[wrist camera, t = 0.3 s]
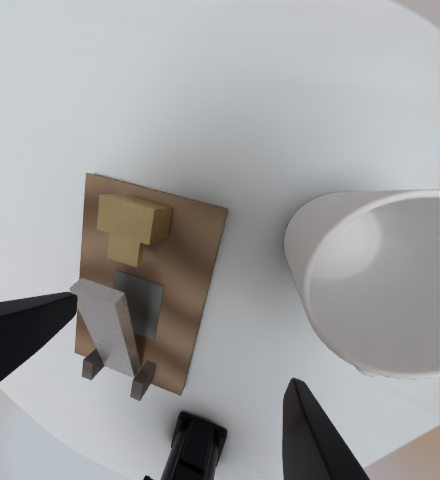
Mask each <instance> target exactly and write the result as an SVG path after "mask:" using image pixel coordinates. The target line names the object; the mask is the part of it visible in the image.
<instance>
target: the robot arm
mask: <svg viewBox="0 0 440 480" xmlns="http://www.w3.org/2000/svg"><path fill="white" fill-rule="evenodd" d="M77 302H78V297H77V295H76V294H73V293H70V292H62V293H56V294H50V295H43V296H37V297H30V298H24V299H17V300H11V301H5V302H0V382H1V381H2V380H3V379H4V378H5V377H7V376H8V375H9V374H10V373H12V372H13V371H14V370H15V369H16V368H18V367H19V366H20V365H21V364H23V363H24V362H25V361H26V360H28V359H29V358H30V357H31V356H32V355H34V354H35V353H36V352H37V351H38V350H40V349H41V348H42V347H43V346H44V345H45V344H46V343H47V342H48V341H49V340H50V339H51V338H52V337H54V336H55V335H56V334H57V333H58V332H59V331H60V330H61V329H62V328H63V327H64V326H65V325H66V324H67V323H68V322H69V321H70V320H71V319H72V318H73V317H74V316H75V314H76V312H77ZM226 438H227V431H226V430H225V429H222V428H220V427H217V426H215V425H213V424H210V423H208V422H206V421H203V420H201V419H198V418H196V417H194V416H191V415H189V414H186V413H184V412H180V414H179V416H178V420H177V424H176V428H175V432H174V436H173V440H172V444H171V448H172V449H171V452H170V455H169V458H168V460H167V463H166V466H165V469H164V471H163V474H162V477H161V480H214V474H215V469H216V467H217V464H218V461H219V458H220V455H221V452H222V449H223V446H224V444H225V441H226ZM282 457H283V474H284V480H370V479H369V478H368V476H367V474H366V473H365V471H364V470H363V468H362V467H361V465H360V464H359V462H358V461H357V459H356V458H355V456H354V455H353V453H352V452H351V450H350V449H349V447H348V446H347V445H346V443H345V442H344V440H343V439H342V437H341V436H340V434H339V433H338V431H337V430H336V428H335V427H334V425H333V424H332V422H331V421H330V419H329V418H328V416H327V415H326V413H325V412H324V410H323V409H322V407H321V406H320V404H319V403H318V401H317V400H316V398H315V397H314V395H313V394H312V392H311V391H310V389H309V388H308V386H307V385H306V384H305V382H303V381H301V380H299V379H296V378H292V379H291V380H290V383H289V385H288V387H287V390H286V392H285V394H284V399H283V438H282ZM143 480H153V479H151V478H150V477H149V476H147V475H146V476H145V477H144V479H143Z"/></svg>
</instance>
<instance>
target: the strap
mask: <svg viewBox="0 0 440 480" xmlns="http://www.w3.org/2000/svg"><path fill="white" fill-rule="evenodd" d="M69 289H70V291H71V293H73V294H76V295H77V297H78V302H77V306H78V309H79V311H80V313H81V315H82V317H83V320H84V322H85V324H86V326H87V329H88V331H89V333H90V335H91V337H92V340H93V342H94V344H95V346H96V348H97V351H98V353H99V355H100V357H101V359H102V362H103V364H104V366H106V367H109V368H111V369H114V370H116V371H119V372H121V373H123V374H126V375H128V376H131V377H133V378H135V377H136V375H137V373H138V371H139V369H140V368H141V367H140V362H139V357H138V353H137V348H136V343H135V339H134V334H133V329H132V325H131V320H130V315H129V310H128V306H127V301H126V296H125V293H124V292H121V291H118V290H115V289H112V288H109V287H106V286H104V285H101V284H98V283H95V282H92V281H89V280H86V279H83V278H81V279H80V280H79V281H78V282H76V283H75V284H74V285H73V286H72V287H71V288H69Z"/></svg>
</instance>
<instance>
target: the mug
mask: <svg viewBox="0 0 440 480" xmlns="http://www.w3.org/2000/svg"><path fill="white" fill-rule="evenodd" d="M284 250H285V255H286V259H287V262H288V264H289V267H290V270H291V273H292V276H293V278H294V281H295V284H296V287H297V290H298V292H299V295H300V298H301V301H302V303H303V306H304V309H305V312H306V315H307V317H308V320H309V322H310V324H311V326H312V328H313V330H314V331H315V333H316V334H317V336H318V337H319V338H320V340H321V341H322V342H323V343H324V344H325V345H326V346H327V347H328V348H329V349H330V350H331V351H333V352H334V353H335V354H336V355H338V356H339V357H340V358H342V359H343V360H345V361H347V362H348V363H350V364H352V365H354V366H355V367H356V369H357V370H358V371H359V372H360V373H362V374H363V375H366V376H370V377H374V376H378V375H381V376H385V377H391V378H398V379H413V380H416V379H432V378H440V189H428V190H391V191H359V192H337V193H330V194H326V195H322V196H320V197H317V198H315V199H313V200H311V201H309V202H308V203H306V204H305V205H303V206H302V207H301V208H300V209H299V210H298V211H297V212H296V213H295V214H294V216H293V217H292V219H291V220H290V222H289V224H288V226H287V229H286V232H285V236H284Z"/></svg>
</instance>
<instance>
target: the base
mask: <svg viewBox="0 0 440 480" xmlns="http://www.w3.org/2000/svg"><path fill="white" fill-rule="evenodd" d="M100 195H129V196H133V197H137V198H141V199H144V200H148V201H152V202H155V203H159V204H163V205H166V206H170V207H172V213H171V219H170V224H169V230H168V236H167V237H166V238H164V239H161V240H159V241H157V242H155V243H152V244H150V245H148V244H144V248H143V255H142V262H141V265H140V266H138V267H134V266H130V265H127V264H124V263H121V262H118V261H115V260H112V259H109V258H107V251H108V241H109V233H108V232H105V231H102V230H98V229H97V220H98V208H99V196H100ZM227 212H228V209H226V208H223V207H219V206H215V205H211V204H207V203H204V202H200V201H196V200H192V199H188V198H184V197H181V196H177V195H173V194H169V193H165V192H162V191H158V190H154V189H150V188H146V187H142V186H139V185H135V184H131V183H127V182H123V181H119V180H116V179H112V178H108V177H104V176H100V175H97V174H90V173H86V182H85V198H84V214H83V230H82V245H81V261H80V277H79V280H80V279H81V278H83V279H86V280H89V281H92V282H95V283H98V284H101V285H104V286H106V287H109V288H112V289H115V290H118V291H121V292H124V293H125V296H126V301H127V306H128V310H129V315H130V320H131V325H132V329H133V334H134V339H135V343H136V348H137V353H138V357H139V362H140V367H141V368H140V369H139V371H138V373H137V375H136V377H135V378H134V379H133V383H132V389H131V396H130V397H132V398H134V399H136V400H139V401H140V400H141V399H142V397H143V395H144V394H145V392H146V390H147V389H148V387H149V385H150V384H153V385H156V386H158V387H160V388H163V389H165V390H168V391H170V392H173V393H175V394H178V395H180V396H181V394H182V391H183V389H184V386H185V382H186V378H187V374H188V370H189V366H190V362H191V358H192V354H193V350H194V346H195V342H196V338H197V333H198V329H199V325H200V321H201V317H202V313H203V309H204V305H205V301H206V297H207V293H208V289H209V285H210V281H211V277H212V273H213V268H214V264H215V260H216V256H217V252H218V248H219V244H220V240H221V236H222V232H223V228H224V224H225V220H226V216H227ZM75 353H77V354H80V355H82V356H85V357H86V358H85V359H84V360H83V370H82V377H85V378H87V379H89V380H92V379H93V378H94V377H95V375H96V374H97V373H98V372H99V371H100V370H101V369H102V368H103V367H104V364H103V362H102V359H101V357H100V355H99V353H98V351H97V348H96V346H95V344H94V342H93V340H92V337H91V335H90V333H89V331H88V329H87V326H86V324H85V322H84V320H83V317H82V315H81V313H80V311H79V309H77V324H76V340H75Z"/></svg>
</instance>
